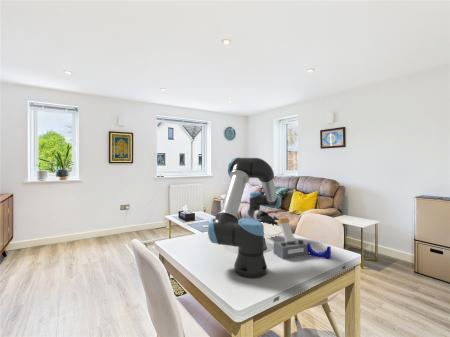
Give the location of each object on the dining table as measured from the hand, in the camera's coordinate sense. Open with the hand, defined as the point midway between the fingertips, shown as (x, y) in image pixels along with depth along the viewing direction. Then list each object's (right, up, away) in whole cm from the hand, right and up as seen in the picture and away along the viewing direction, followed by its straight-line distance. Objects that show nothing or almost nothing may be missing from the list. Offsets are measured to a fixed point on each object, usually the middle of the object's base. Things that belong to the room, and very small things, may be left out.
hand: (281, 224), depth 142 cm
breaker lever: (+3, -7, -9) cm, 12 cm away
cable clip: (+18, -15, -10) cm, 25 cm away
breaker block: (+3, -14, -9) cm, 17 cm away
